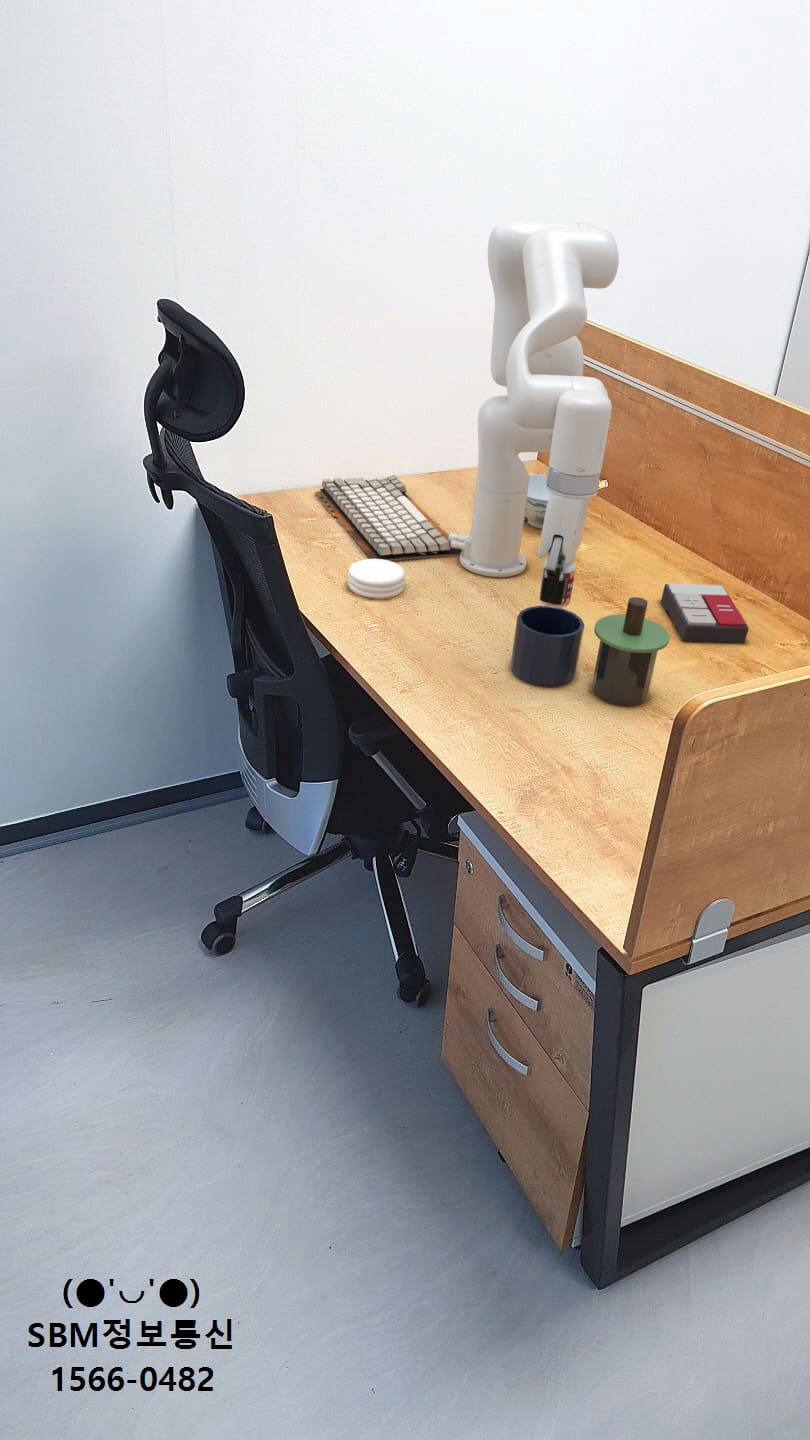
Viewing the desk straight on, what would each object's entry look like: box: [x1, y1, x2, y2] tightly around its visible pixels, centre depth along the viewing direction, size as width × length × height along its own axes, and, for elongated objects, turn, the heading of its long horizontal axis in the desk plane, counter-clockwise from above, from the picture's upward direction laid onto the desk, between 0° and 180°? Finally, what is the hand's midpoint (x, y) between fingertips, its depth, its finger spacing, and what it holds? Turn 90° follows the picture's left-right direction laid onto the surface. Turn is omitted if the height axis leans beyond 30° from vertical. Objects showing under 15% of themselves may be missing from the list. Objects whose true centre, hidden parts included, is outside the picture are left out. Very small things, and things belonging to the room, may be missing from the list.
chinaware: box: [524, 473, 551, 530], centre depth 225 cm, size 15×15×8 cm
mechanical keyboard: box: [314, 474, 462, 562], centre depth 221 cm, size 38×19×3 cm, turn 22°
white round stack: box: [347, 558, 406, 600], centre depth 195 cm, size 10×10×4 cm
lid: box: [593, 596, 671, 653], centre depth 164 cm, size 11×11×6 cm
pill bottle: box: [538, 551, 576, 609], centre depth 166 cm, size 5×5×8 cm
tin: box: [510, 605, 585, 689], centre depth 172 cm, size 10×10×9 cm
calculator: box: [660, 582, 750, 644], centre depth 192 cm, size 11×4×15 cm
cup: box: [591, 639, 659, 708], centre depth 168 cm, size 9×9×10 cm
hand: (555, 593), depth 167 cm, fingers closed on pill bottle, 4 cm apart
